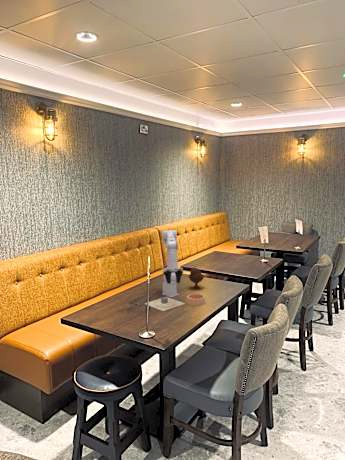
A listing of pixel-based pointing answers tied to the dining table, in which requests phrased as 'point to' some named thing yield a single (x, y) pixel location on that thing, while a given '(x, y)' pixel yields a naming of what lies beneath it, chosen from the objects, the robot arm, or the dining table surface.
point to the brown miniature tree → (196, 277)
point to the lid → (164, 302)
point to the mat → (165, 307)
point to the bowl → (196, 299)
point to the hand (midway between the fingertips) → (173, 283)
